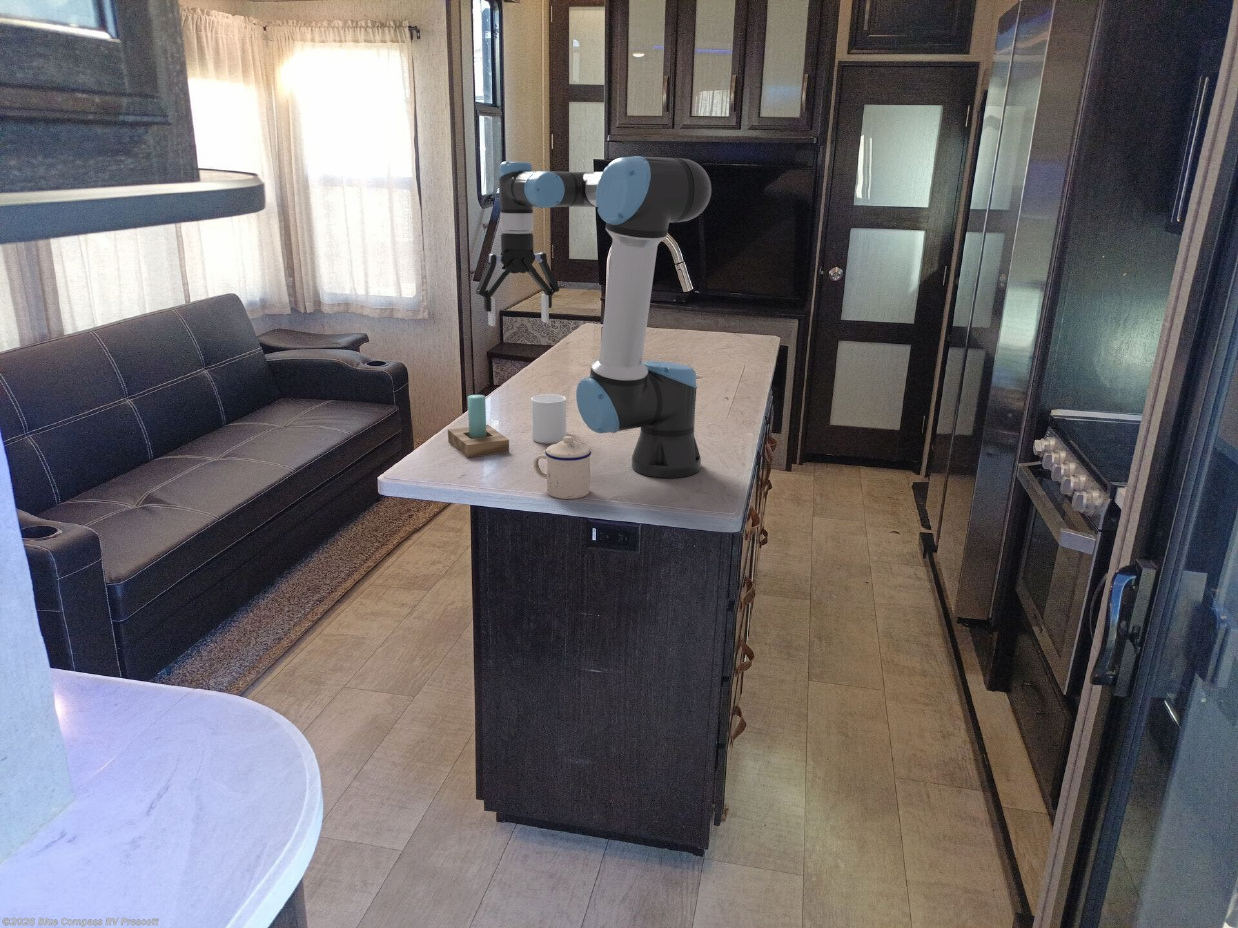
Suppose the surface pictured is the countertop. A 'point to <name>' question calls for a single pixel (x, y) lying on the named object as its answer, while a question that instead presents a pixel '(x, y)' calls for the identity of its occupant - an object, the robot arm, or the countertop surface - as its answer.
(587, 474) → the teacup with lid
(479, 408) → the peg
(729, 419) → the countertop surface
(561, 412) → the cup
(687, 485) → the countertop surface
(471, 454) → the socket
